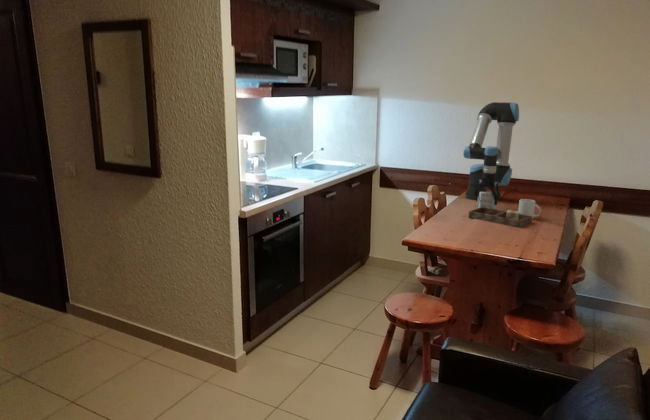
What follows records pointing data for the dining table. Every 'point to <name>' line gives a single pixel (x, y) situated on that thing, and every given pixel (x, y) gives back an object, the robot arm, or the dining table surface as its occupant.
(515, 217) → the beech block
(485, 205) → the ink box
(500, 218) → the storage box
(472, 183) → the robot arm
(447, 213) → the dining table surface
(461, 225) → the dining table surface
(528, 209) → the mug
